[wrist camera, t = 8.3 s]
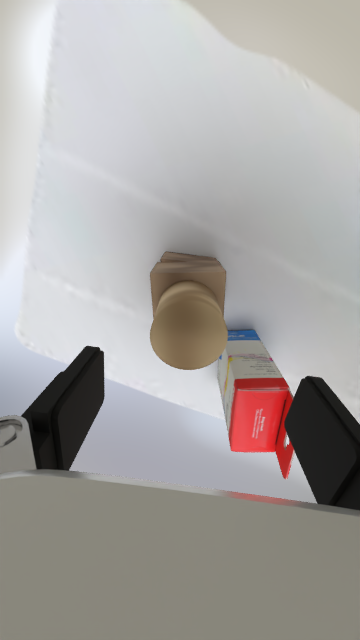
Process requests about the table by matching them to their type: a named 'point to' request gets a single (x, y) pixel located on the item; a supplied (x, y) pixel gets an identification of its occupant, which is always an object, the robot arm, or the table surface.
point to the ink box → (254, 398)
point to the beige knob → (188, 326)
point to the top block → (188, 278)
